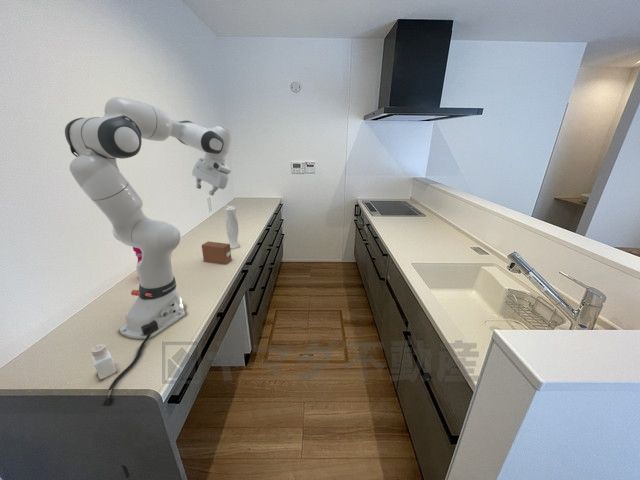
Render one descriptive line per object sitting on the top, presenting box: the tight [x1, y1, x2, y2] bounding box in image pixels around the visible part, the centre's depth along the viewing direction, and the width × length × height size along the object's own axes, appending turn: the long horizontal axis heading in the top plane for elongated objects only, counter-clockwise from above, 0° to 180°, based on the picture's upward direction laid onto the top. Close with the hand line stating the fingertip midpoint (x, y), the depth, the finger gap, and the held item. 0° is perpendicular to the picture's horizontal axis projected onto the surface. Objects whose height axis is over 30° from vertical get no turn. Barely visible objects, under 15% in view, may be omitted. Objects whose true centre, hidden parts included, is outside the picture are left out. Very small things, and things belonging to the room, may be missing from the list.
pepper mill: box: [132, 247, 142, 271], centre depth 128 cm, size 7×7×20 cm
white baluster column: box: [222, 205, 241, 250], centre depth 166 cm, size 8×8×28 cm
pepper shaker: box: [90, 343, 117, 380], centre depth 77 cm, size 4×4×10 cm
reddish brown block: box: [201, 240, 232, 265], centre depth 149 cm, size 6×15×10 cm, turn 77°
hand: (204, 191), depth 123 cm, fingers open, 8 cm apart
